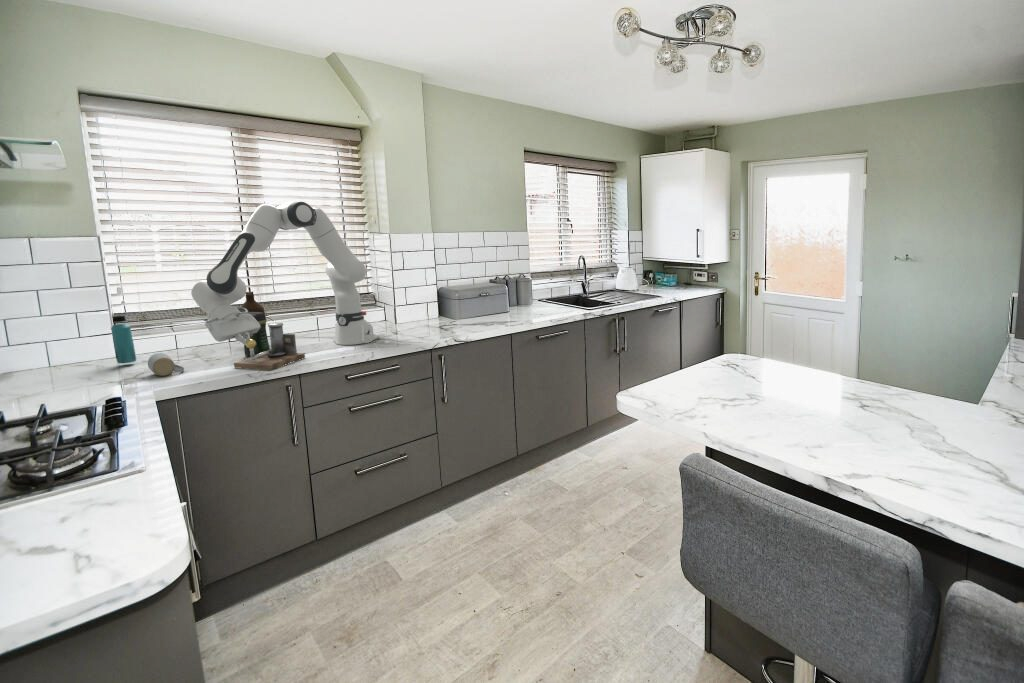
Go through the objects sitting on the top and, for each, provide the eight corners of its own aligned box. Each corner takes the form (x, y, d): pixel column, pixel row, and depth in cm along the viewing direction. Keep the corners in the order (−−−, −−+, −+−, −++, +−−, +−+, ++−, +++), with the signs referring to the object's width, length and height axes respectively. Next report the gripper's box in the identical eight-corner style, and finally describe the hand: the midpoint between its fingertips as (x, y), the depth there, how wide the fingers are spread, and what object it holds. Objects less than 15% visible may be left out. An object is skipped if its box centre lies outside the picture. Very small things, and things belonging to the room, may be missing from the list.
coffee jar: (273, 353, 228) (268, 310, 224) (260, 357, 221) (255, 313, 217) (254, 352, 231) (249, 310, 227) (241, 356, 223) (235, 313, 219)
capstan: (275, 352, 220) (272, 322, 217) (290, 353, 218) (287, 322, 216) (242, 364, 201) (237, 331, 198) (258, 365, 199) (254, 332, 196)
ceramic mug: (154, 378, 192) (151, 358, 190) (149, 374, 197) (146, 354, 196) (187, 373, 199) (184, 353, 197) (181, 369, 205) (179, 350, 203)
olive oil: (246, 349, 236) (239, 293, 231) (240, 346, 244) (233, 292, 239) (271, 346, 243) (265, 291, 238) (264, 342, 251) (258, 290, 246)
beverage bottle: (141, 363, 214) (133, 314, 210) (124, 367, 208) (116, 317, 204) (129, 362, 216) (121, 314, 212) (113, 366, 210) (104, 316, 206)
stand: (270, 355, 224) (267, 332, 222) (305, 357, 219) (303, 334, 217) (234, 367, 205) (231, 342, 203) (271, 370, 200) (268, 344, 198)
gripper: (206, 315, 192) (231, 343, 191) (249, 307, 211) (271, 333, 210) (198, 327, 194) (223, 354, 193) (241, 318, 213) (263, 343, 213)
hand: (248, 343), depth 202 cm, fingers closed
